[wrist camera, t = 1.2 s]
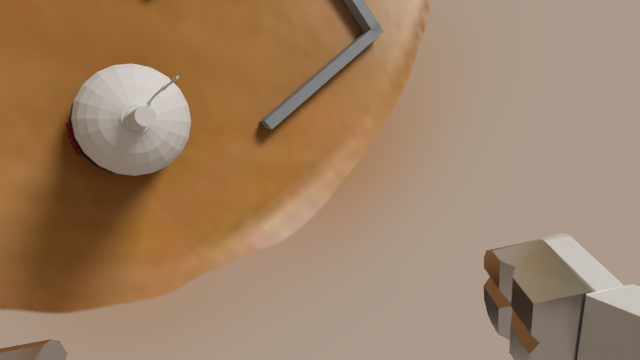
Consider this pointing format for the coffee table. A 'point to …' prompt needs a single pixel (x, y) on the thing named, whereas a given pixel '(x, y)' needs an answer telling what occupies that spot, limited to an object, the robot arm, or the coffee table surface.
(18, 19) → the coffee table surface
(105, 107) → the humidifier
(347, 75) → the coffee table surface
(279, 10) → the coffee table surface
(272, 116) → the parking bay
